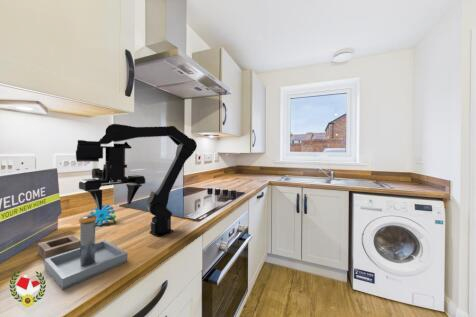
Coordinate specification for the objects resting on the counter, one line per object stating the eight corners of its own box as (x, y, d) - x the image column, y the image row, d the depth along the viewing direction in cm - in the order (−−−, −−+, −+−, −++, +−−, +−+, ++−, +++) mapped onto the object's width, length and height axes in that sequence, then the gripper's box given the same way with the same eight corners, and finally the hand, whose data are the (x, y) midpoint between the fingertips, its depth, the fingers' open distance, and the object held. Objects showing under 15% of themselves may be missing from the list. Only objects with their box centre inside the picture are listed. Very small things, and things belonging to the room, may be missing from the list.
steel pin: (86, 258, 55) (86, 214, 55) (99, 259, 55) (100, 215, 54) (74, 266, 51) (75, 219, 51) (88, 266, 51) (89, 219, 51)
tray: (104, 247, 62) (104, 239, 62) (127, 261, 55) (127, 252, 55) (44, 268, 51) (44, 259, 51) (62, 290, 43) (62, 278, 43)
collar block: (71, 243, 65) (71, 234, 65) (80, 250, 61) (80, 240, 60) (37, 253, 58) (37, 243, 58) (45, 261, 54) (45, 251, 54)
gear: (80, 222, 80) (97, 201, 87) (88, 228, 84) (103, 208, 91) (105, 227, 79) (120, 206, 86) (111, 233, 83) (125, 212, 90)
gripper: (130, 160, 79) (130, 198, 79) (72, 161, 63) (72, 209, 63) (146, 161, 72) (146, 203, 73) (86, 162, 57) (86, 215, 57)
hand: (115, 206), depth 67 cm, fingers open, 9 cm apart
